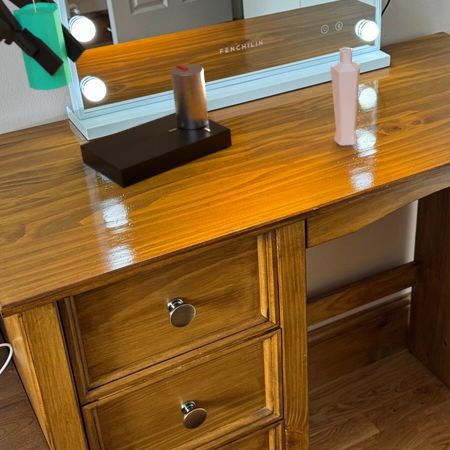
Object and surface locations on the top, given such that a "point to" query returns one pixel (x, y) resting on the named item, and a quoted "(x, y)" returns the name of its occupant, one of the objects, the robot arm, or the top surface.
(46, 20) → the candle
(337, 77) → the perfume bottle
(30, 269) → the top surface
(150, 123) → the block
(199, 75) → the silver metal cylinder
